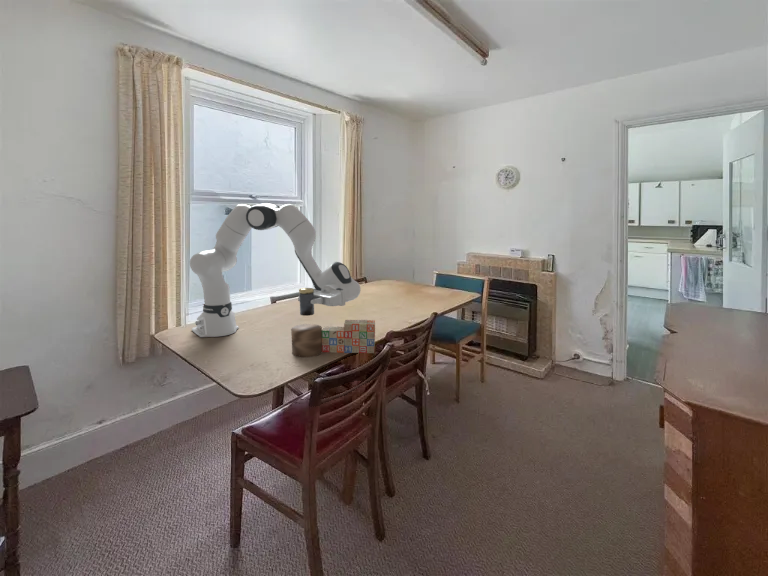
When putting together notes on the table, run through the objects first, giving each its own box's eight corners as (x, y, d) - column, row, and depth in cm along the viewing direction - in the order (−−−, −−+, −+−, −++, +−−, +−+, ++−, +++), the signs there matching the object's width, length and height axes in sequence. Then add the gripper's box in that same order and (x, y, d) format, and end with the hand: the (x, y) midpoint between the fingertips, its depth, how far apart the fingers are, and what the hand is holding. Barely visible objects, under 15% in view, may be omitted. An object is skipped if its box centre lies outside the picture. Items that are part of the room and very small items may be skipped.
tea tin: (296, 314, 152) (295, 289, 150) (308, 311, 156) (307, 287, 155) (306, 316, 149) (305, 291, 147) (317, 313, 153) (316, 289, 151)
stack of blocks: (321, 352, 155) (320, 323, 153) (324, 347, 161) (323, 319, 159) (374, 353, 154) (374, 323, 152) (375, 348, 161) (375, 319, 158)
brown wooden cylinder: (286, 352, 154) (284, 328, 153) (308, 345, 164) (308, 322, 162) (305, 359, 147) (304, 334, 145) (328, 351, 156) (328, 327, 155)
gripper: (313, 285, 167) (287, 289, 156) (347, 290, 155) (322, 296, 144) (314, 299, 168) (288, 304, 158) (348, 305, 156) (322, 312, 145)
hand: (304, 300), depth 151 cm, fingers closed on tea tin, 5 cm apart
